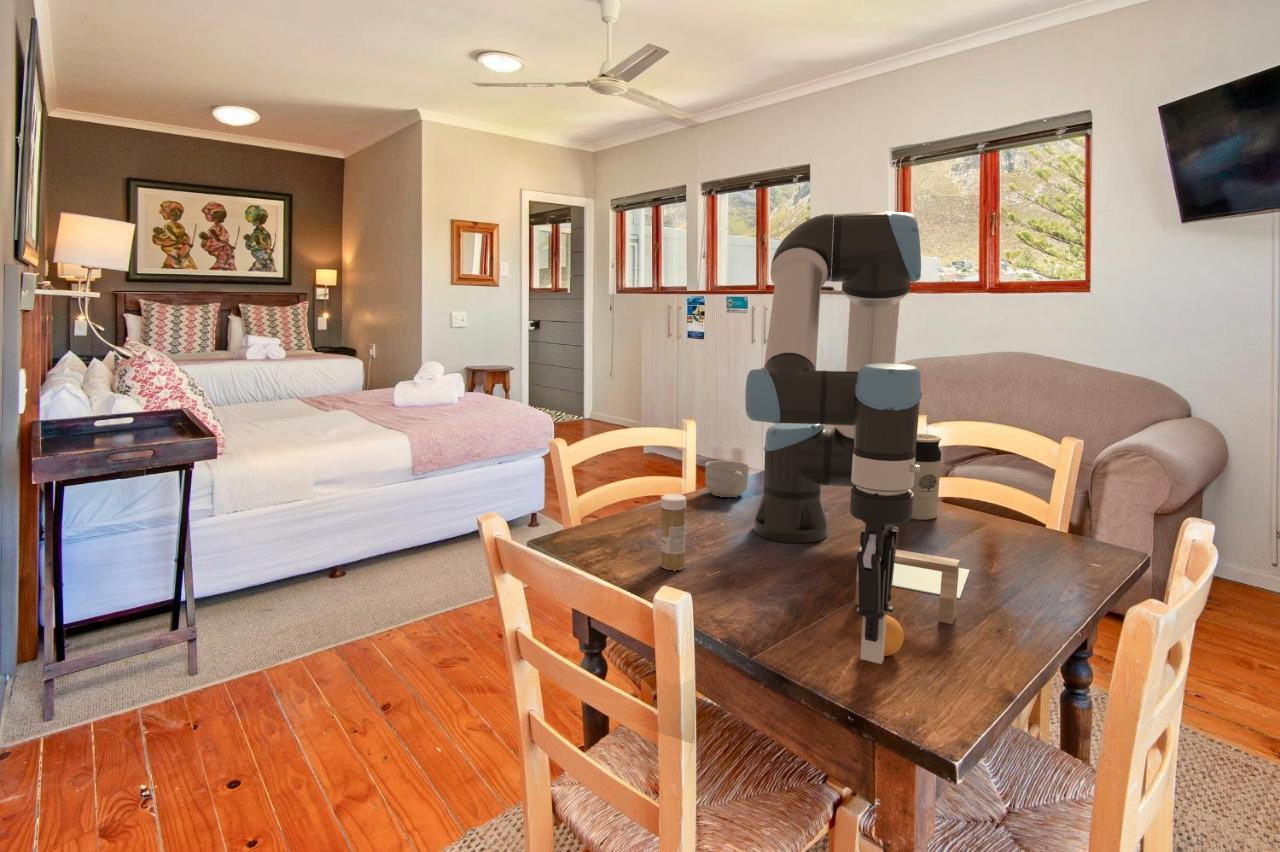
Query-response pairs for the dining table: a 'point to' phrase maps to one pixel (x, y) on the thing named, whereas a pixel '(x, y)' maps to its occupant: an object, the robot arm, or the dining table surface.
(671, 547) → the sprinkles bottle
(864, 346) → the robot arm
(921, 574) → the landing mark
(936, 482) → the travel mug
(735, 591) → the dining table surface
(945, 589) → the bridge
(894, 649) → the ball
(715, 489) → the teacup
